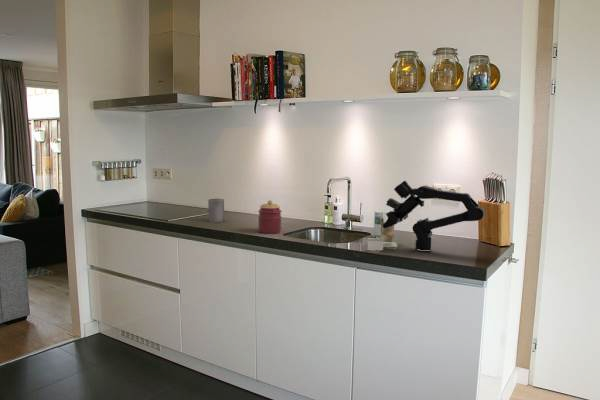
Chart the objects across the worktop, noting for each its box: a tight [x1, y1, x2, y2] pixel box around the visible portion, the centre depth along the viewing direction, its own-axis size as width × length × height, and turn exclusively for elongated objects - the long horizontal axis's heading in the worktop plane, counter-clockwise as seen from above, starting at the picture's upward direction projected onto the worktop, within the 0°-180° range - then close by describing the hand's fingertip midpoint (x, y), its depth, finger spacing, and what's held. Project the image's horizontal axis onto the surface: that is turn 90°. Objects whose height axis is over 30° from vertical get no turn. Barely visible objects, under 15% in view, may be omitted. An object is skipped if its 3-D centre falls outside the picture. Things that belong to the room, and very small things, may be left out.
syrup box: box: [373, 209, 390, 238], centre depth 244 cm, size 6×6×14 cm
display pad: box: [383, 241, 398, 248], centre depth 225 cm, size 9×9×1 cm
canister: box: [257, 200, 282, 235], centre depth 257 cm, size 13×13×18 cm
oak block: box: [381, 222, 395, 243], centre depth 224 cm, size 5×5×9 cm
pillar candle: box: [207, 198, 225, 223], centre depth 289 cm, size 10×10×15 cm
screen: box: [367, 237, 384, 251], centre depth 214 cm, size 7×2×6 cm, turn 82°
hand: (385, 226), depth 224 cm, fingers closed on oak block, 5 cm apart
